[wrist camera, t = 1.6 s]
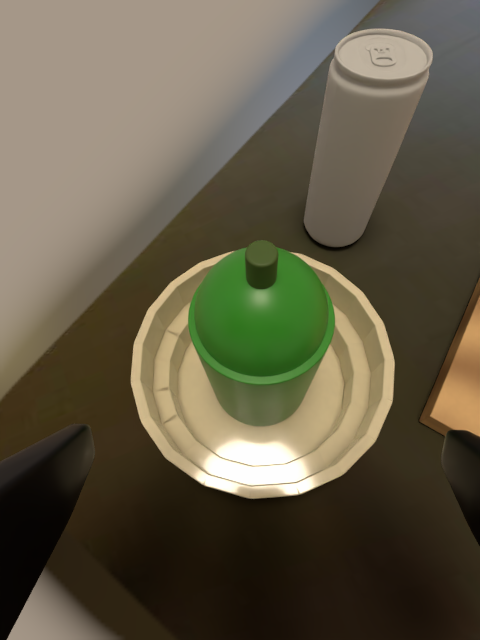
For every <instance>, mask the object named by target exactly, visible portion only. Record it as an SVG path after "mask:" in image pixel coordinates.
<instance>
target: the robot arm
mask: <svg viewBox="0 0 480 640" xmlns="http://www.w3.org/2000/svg"><path fill="white" fill-rule="evenodd" d="M94 456H95V449H94V443H93V438H92V432H91V428H90V426H89V425H87V424H71V425H69V426H67V427H66V428H64V429H62V430H60V431H58V432H56V433H54V434H52V435H50V436H48V437H46V438H45V439H43V440H41V441H39V442H37V443H35V444H33V445H31V446H29V447H27V448H26V449H24V450H22V451H20V452H18V453H16V454H14V455H12V456H10V457H8V458H7V459H5V460H3V461H1V462H0V640H7V638H8V636H9V634H10V632H11V630H12V628H13V626H14V624H15V622H16V620H17V619H18V617H19V615H20V613H21V611H22V609H23V607H24V605H25V603H26V601H27V599H28V597H29V595H30V594H31V592H32V590H33V588H34V586H35V584H36V582H37V580H38V578H39V576H40V575H41V573H42V571H43V569H44V567H45V565H46V563H47V561H48V559H49V557H50V555H51V554H52V552H53V550H54V548H55V546H56V544H57V542H58V540H59V538H60V536H61V534H62V532H63V531H64V529H65V527H66V525H67V523H68V521H69V519H70V516H71V514H72V512H73V510H74V507H75V505H76V502H77V500H78V497H79V495H80V492H81V490H82V487H83V485H84V482H85V480H86V478H87V475H88V473H89V470H90V468H91V465H92V463H93V460H94ZM441 463H442V467H443V470H444V472H445V474H446V476H447V479H448V481H449V483H450V485H451V488H452V490H453V492H454V494H455V497H456V499H457V501H458V503H459V505H460V508H461V510H462V512H463V514H464V517H465V519H466V521H467V523H468V525H469V527H470V529H471V531H472V533H473V535H474V537H475V539H476V540H477V542H478V544H479V546H480V437H479V436H477V435H475V434H473V433H471V432H469V431H467V430H449V431H448V432H447V433H446V436H445V441H444V445H443V450H442V455H441Z"/></svg>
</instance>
